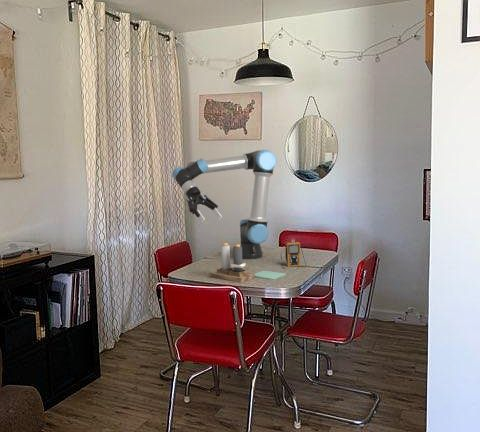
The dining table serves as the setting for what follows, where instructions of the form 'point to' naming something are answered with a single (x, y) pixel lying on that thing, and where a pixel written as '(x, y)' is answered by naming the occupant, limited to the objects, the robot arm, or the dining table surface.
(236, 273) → the clamp board
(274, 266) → the dining table surface
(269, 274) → the green pad
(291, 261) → the multimeter
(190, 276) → the dining table surface
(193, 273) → the dining table surface
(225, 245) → the white tall cylinder
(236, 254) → the grey flanged cylinder
